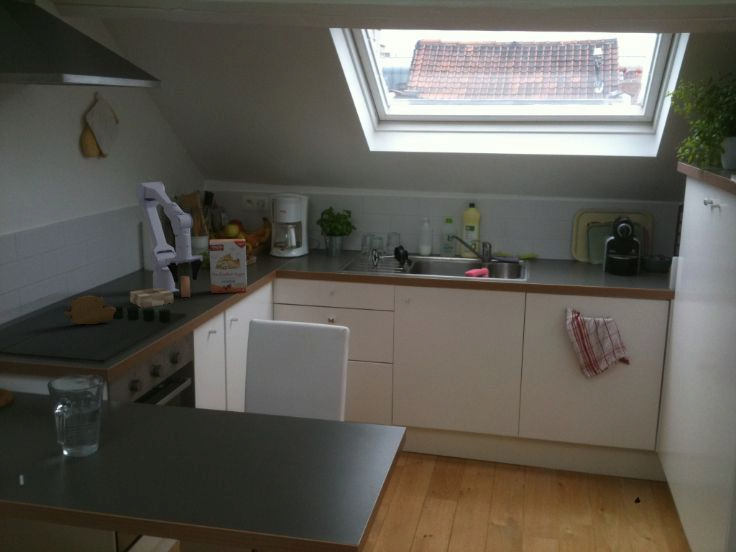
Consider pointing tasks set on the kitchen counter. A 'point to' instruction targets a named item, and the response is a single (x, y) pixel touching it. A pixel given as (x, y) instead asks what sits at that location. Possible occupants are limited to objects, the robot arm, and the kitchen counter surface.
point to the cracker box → (228, 265)
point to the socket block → (151, 297)
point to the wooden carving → (90, 310)
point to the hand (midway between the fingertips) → (185, 281)
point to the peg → (185, 286)
